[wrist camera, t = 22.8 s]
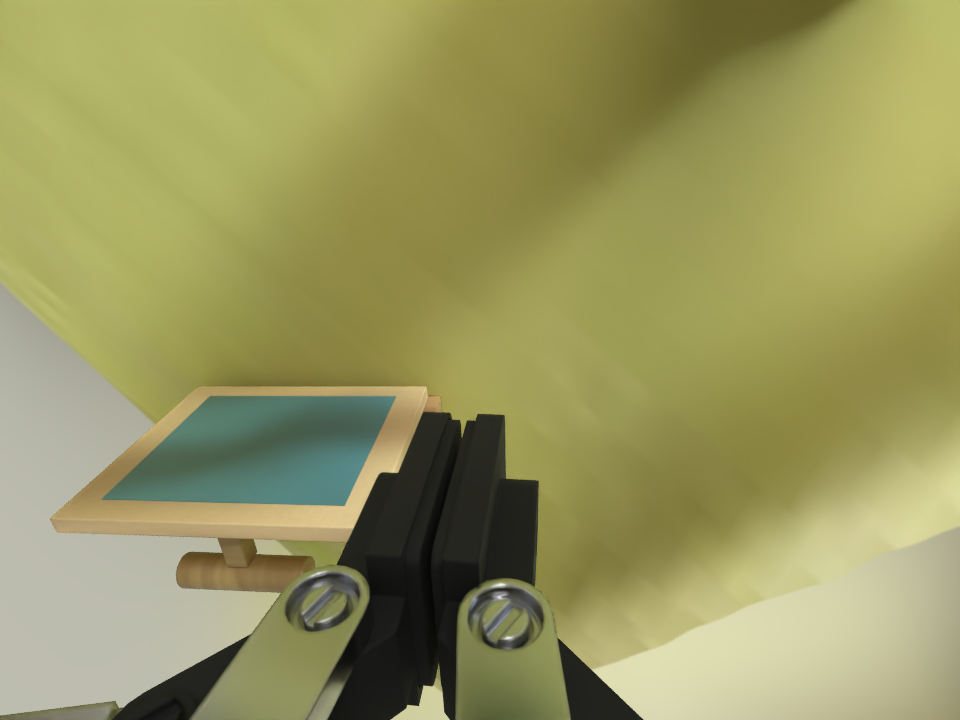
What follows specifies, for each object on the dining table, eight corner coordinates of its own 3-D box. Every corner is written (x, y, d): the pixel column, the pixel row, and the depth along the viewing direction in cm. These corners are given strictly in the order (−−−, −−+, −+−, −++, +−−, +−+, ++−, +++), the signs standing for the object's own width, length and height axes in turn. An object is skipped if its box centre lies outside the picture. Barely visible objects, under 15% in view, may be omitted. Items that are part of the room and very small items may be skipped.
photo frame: (47, 517, 24) (91, 604, 26) (371, 527, 22) (388, 619, 25) (197, 385, 34) (220, 455, 36) (426, 385, 32) (435, 459, 35)
